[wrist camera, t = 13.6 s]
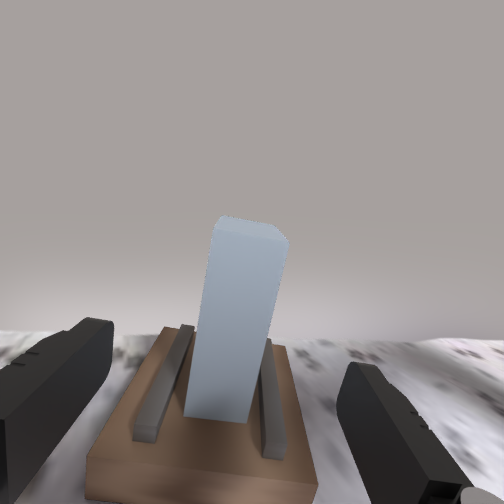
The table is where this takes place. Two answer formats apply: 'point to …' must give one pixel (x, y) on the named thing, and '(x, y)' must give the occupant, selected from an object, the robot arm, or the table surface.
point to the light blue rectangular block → (234, 318)
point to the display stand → (201, 438)
